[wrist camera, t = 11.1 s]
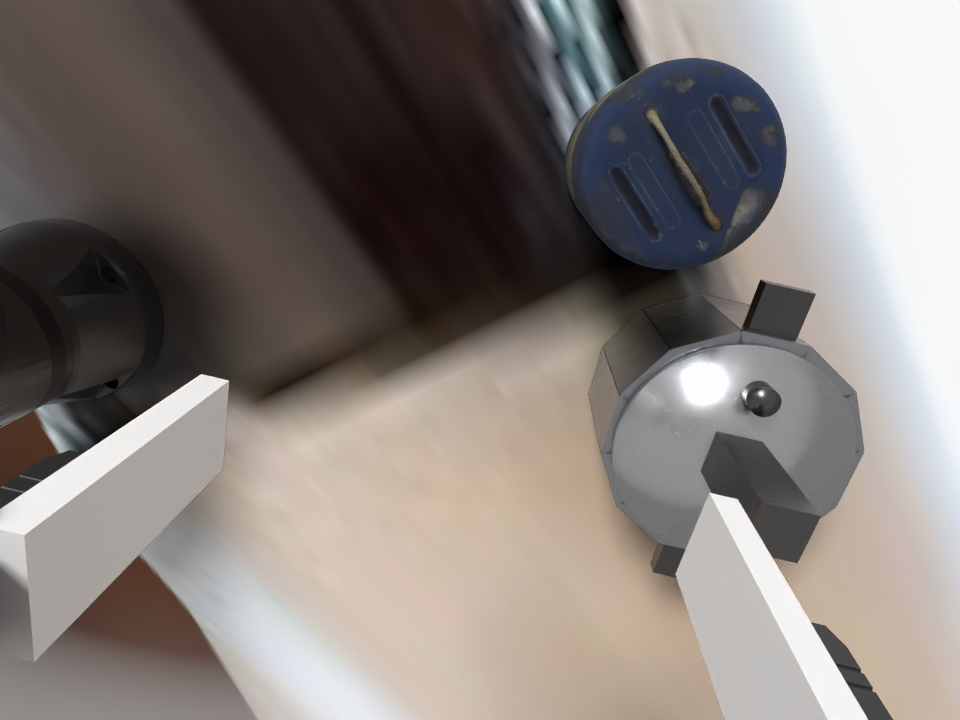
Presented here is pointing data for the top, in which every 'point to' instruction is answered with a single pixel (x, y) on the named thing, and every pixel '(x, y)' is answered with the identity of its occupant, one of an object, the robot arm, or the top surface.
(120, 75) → the top surface
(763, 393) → the lid
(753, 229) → the canister
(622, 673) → the top surface
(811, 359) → the cooker pot
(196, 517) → the top surface
